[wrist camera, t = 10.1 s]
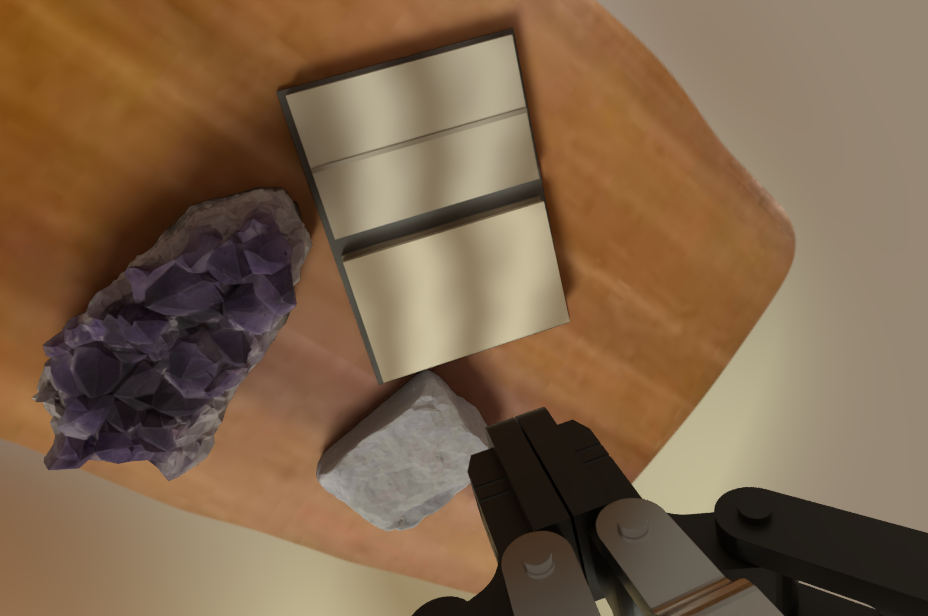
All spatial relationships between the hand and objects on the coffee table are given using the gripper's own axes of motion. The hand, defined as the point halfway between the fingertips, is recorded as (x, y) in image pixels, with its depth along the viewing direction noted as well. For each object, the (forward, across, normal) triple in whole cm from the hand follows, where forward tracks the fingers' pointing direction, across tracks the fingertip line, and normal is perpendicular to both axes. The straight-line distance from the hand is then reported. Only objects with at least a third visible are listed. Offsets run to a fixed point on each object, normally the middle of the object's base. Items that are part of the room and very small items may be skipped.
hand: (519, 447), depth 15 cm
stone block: (+30, +4, +20) cm, 36 cm away
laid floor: (+29, -3, +3) cm, 29 cm away
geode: (+29, +14, +3) cm, 33 cm away
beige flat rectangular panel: (+28, -3, +7) cm, 29 cm away
